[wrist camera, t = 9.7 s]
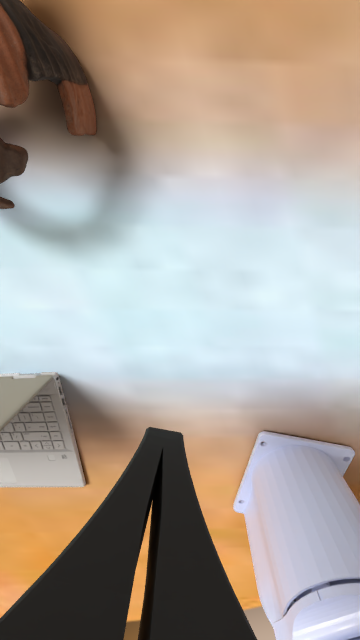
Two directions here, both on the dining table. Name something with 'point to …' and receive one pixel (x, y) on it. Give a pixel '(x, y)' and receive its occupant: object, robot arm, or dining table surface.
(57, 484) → the laptop
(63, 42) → the pottery mug
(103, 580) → the robot arm
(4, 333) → the dining table surface
